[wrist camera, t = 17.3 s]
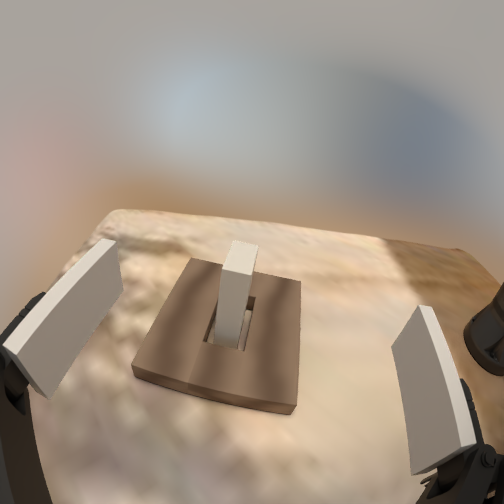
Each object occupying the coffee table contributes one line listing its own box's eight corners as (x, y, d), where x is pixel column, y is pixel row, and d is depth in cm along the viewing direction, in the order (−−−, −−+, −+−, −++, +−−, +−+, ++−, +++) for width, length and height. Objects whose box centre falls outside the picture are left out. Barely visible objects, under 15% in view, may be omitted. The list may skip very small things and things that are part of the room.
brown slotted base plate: (296, 293, 46) (300, 281, 45) (290, 414, 27) (296, 405, 26) (190, 269, 47) (191, 257, 45) (134, 376, 28) (131, 364, 27)
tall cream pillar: (244, 317, 40) (258, 245, 33) (236, 349, 34) (251, 275, 28) (223, 313, 40) (233, 240, 33) (213, 344, 35) (221, 268, 28)
